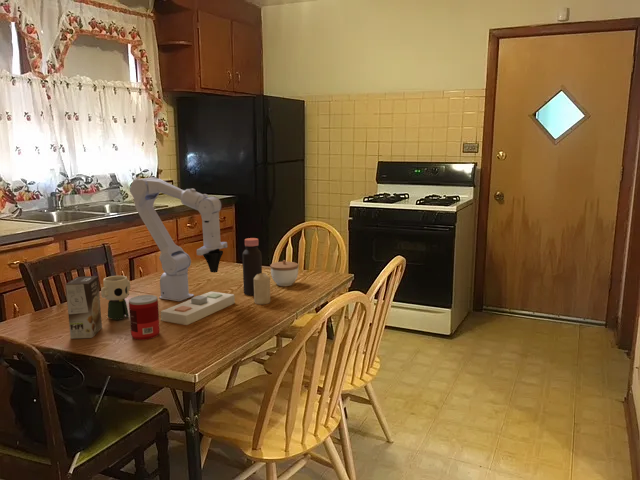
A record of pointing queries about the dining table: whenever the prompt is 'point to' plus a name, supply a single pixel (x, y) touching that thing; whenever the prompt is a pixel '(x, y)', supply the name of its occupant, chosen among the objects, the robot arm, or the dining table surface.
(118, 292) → the character mug
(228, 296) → the button panel
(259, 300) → the candle
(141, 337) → the canned food
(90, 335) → the coffee box
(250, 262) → the bottle
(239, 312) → the dining table surface
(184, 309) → the terracotta button
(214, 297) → the sage button
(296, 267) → the lidded jar
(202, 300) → the slate button
